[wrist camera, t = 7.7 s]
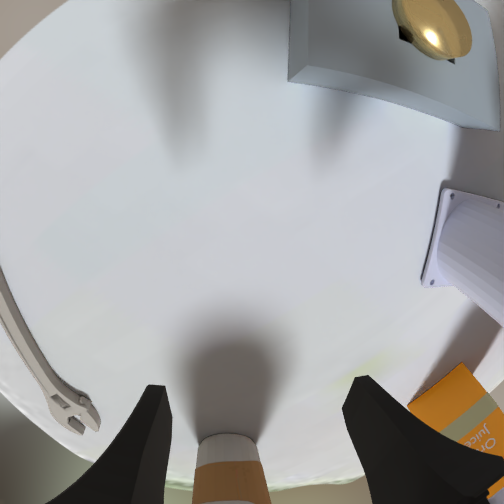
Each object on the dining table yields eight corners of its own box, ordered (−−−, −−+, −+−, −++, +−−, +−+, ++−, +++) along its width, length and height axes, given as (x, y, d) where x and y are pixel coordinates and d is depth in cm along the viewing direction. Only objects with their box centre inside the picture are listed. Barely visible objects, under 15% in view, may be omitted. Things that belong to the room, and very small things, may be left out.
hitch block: (456, 19, 12) (487, 10, 8) (462, 127, 16) (500, 131, 12) (291, -42, 10) (306, -73, 7) (287, 81, 14) (307, 65, 10)
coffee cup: (174, 434, 24) (169, 562, 10) (250, 419, 24) (270, 561, 10) (209, 464, 28) (214, 568, 14) (274, 452, 27) (295, 561, 13)
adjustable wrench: (-30, 214, 15) (-42, 221, 13) (13, 199, 15) (-1, 205, 13) (68, 421, 24) (64, 432, 22) (112, 427, 24) (109, 439, 23)
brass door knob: (418, 25, 12) (467, 6, 7) (419, 79, 14) (474, 70, 9) (360, -1, 12) (402, -33, 7) (359, 56, 14) (409, 33, 8)
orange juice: (465, 384, 28) (530, 478, 10) (417, 422, 30) (471, 525, 11) (462, 360, 26) (544, 471, 7) (405, 405, 27) (471, 530, 8)
